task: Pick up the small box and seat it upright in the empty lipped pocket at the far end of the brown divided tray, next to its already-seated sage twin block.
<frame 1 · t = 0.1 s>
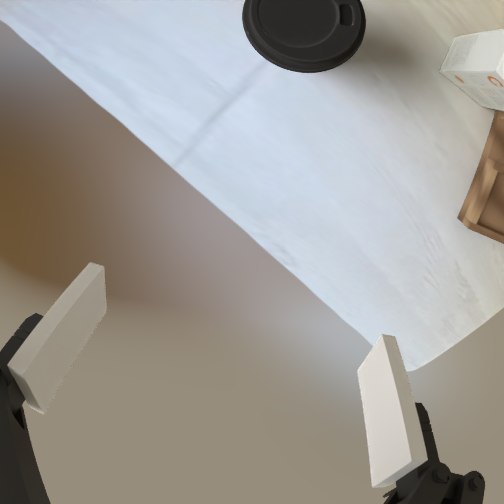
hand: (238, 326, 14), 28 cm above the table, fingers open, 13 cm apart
coffee cup: (297, 40, 30), on the table
small box: (468, 71, 28), on the table
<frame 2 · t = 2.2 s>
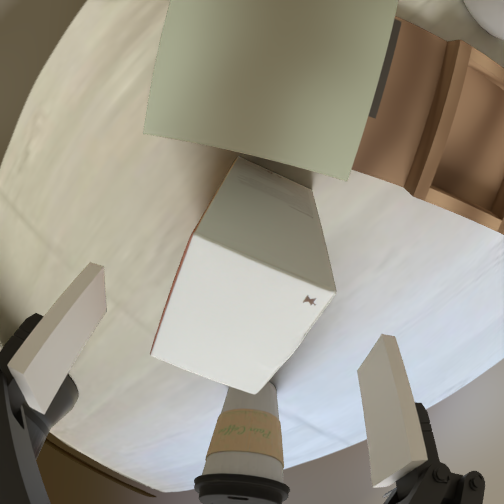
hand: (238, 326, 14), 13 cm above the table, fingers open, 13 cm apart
coffee cup: (252, 390, 36), on the table
small box: (254, 215, 25), on the table
brown divided tray: (386, 95, 19), on the table
can: (487, 1, 14), on the table
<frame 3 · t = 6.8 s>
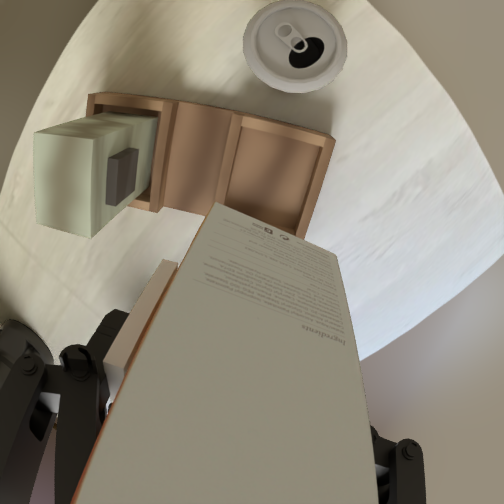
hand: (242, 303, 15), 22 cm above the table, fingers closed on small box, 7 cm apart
small box: (244, 288, 17), point 21 cm above the table, touching gripper
brown divided tray: (199, 158, 34), on the table
can: (291, 58, 28), on the table
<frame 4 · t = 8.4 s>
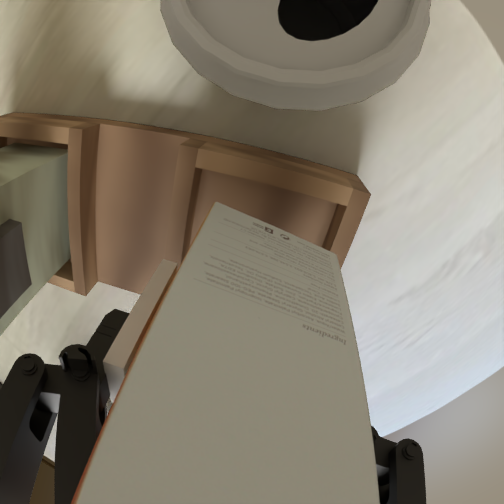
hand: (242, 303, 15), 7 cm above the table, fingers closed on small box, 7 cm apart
small box: (245, 287, 17), point 6 cm above the table, touching gripper
brown divided tray: (142, 211, 21), on the table
can: (290, 38, 15), on the table
when the fingers open (4 cm above the table, at t = 9.7 s): small box drops 1 cm, resting on brown divided tray.
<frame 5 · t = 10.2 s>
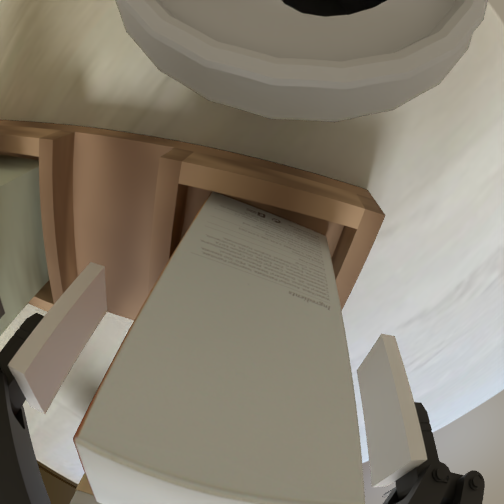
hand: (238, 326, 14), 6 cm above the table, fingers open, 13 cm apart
coffee cup: (126, 443, 36), on the table
small box: (243, 271, 18), point 1 cm above the table, touching brown divided tray
brown divided tray: (125, 228, 19), on the table
can: (291, 30, 13), on the table
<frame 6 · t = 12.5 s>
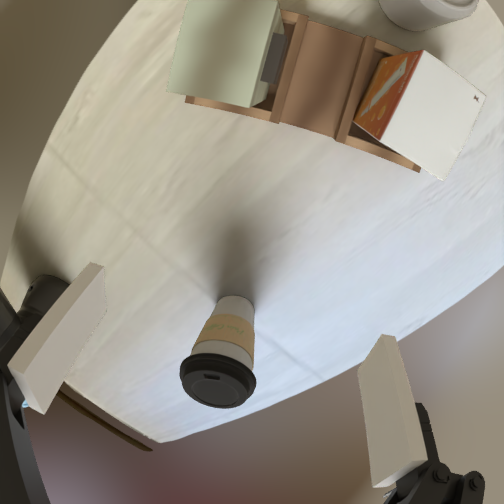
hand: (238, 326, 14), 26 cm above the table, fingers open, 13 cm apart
coffee cup: (235, 309, 48), on the table
small box: (388, 102, 29), point 1 cm above the table, touching brown divided tray
brown divided tray: (320, 78, 30), on the table
can: (406, 3, 24), on the table
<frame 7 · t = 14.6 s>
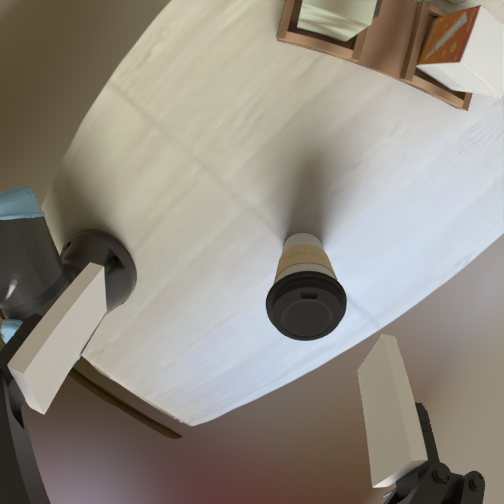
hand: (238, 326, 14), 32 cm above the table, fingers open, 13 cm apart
coffee cup: (302, 249, 48), on the table
small box: (439, 54, 30), point 1 cm above the table, touching brown divided tray
brown divided tray: (385, 31, 31), on the table
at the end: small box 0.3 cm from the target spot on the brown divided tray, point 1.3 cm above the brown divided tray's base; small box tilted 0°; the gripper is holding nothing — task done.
